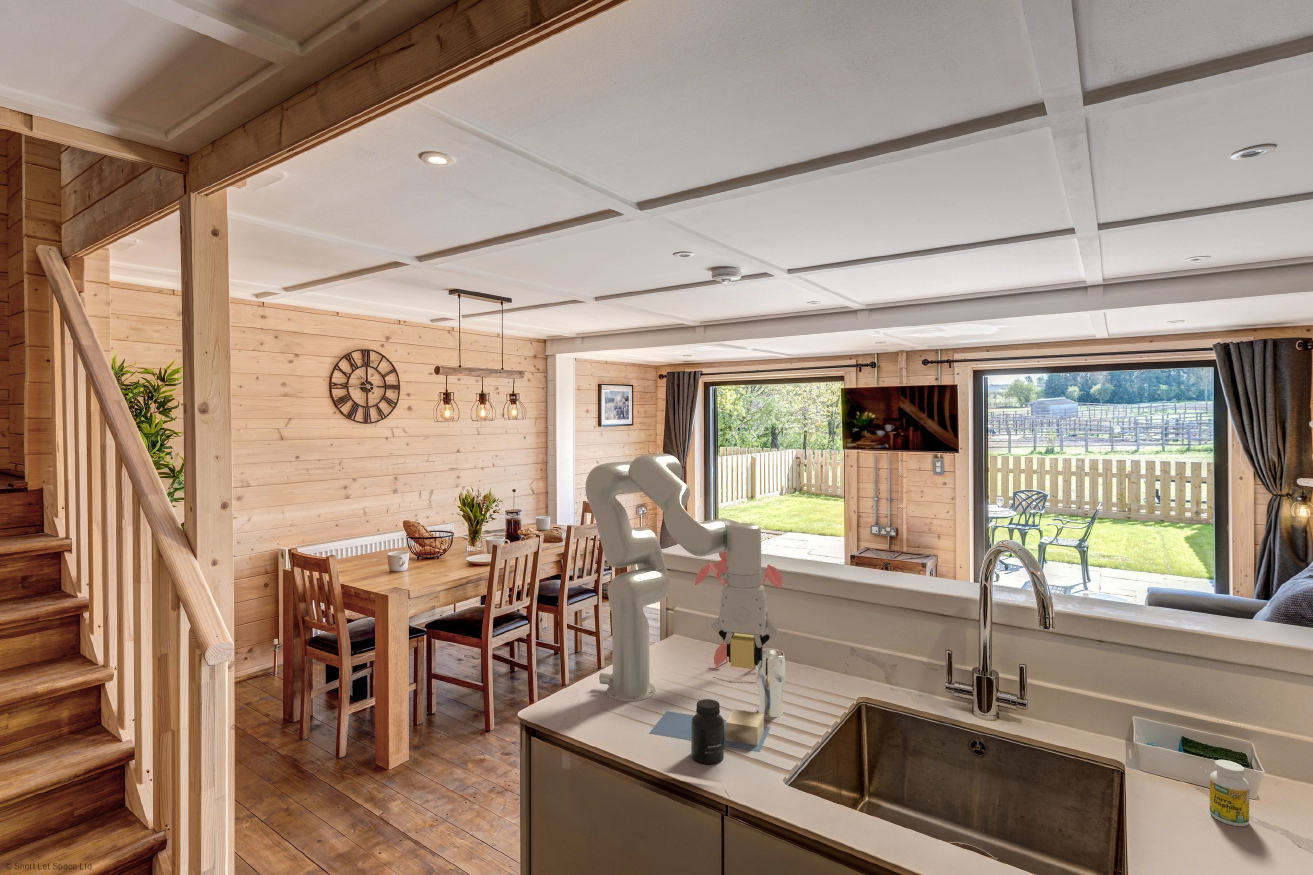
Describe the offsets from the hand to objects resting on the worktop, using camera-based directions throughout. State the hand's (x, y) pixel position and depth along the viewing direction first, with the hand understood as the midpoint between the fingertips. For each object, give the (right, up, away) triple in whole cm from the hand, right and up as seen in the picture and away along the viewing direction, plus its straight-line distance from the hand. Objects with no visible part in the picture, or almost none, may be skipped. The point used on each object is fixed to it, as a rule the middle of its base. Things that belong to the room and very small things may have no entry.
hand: (744, 660), depth 149 cm
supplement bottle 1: (-9, -18, -8) cm, 22 cm away
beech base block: (0, -17, +1) cm, 17 cm away
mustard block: (0, -1, 0) cm, 1 cm away
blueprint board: (-7, -18, +3) cm, 19 cm away
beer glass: (+8, -17, +13) cm, 23 cm away
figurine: (+3, -16, +40) cm, 43 cm away
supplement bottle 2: (+82, -18, -29) cm, 89 cm away
